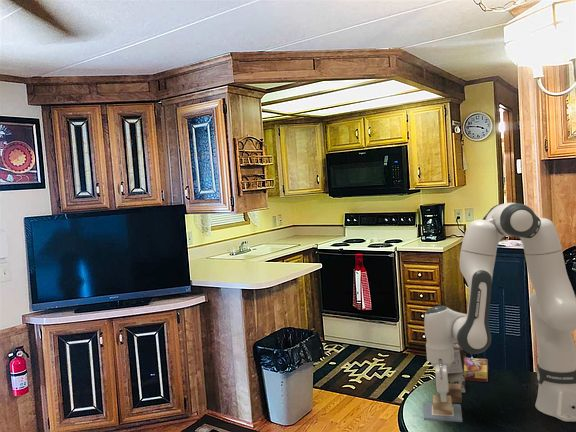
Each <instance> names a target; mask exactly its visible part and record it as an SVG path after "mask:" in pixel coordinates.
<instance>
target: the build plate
mask: <svg viewBox="0 0 576 432" xmlns="http://www.w3.org/2000/svg"><path fill="white" fill-rule="evenodd" d="M461 404H462V403H452V415H442V414H433V402H426V401H425V402H424V406H423V407H424V410H423V411H424V412H423V419H424V420H426V421H440V422H442V421H443V422H457V423H463V415H462V414H463V412H462V405H461Z"/></svg>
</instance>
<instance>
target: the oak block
mask: <svg viewBox="0 0 576 432" xmlns="http://www.w3.org/2000/svg"><path fill="white" fill-rule="evenodd" d="M446 399H447V401H446V402H441V397H440V394H432V403H433V414H442V415H452V404H453V403H452V400H451V396H447V395H446Z"/></svg>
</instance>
